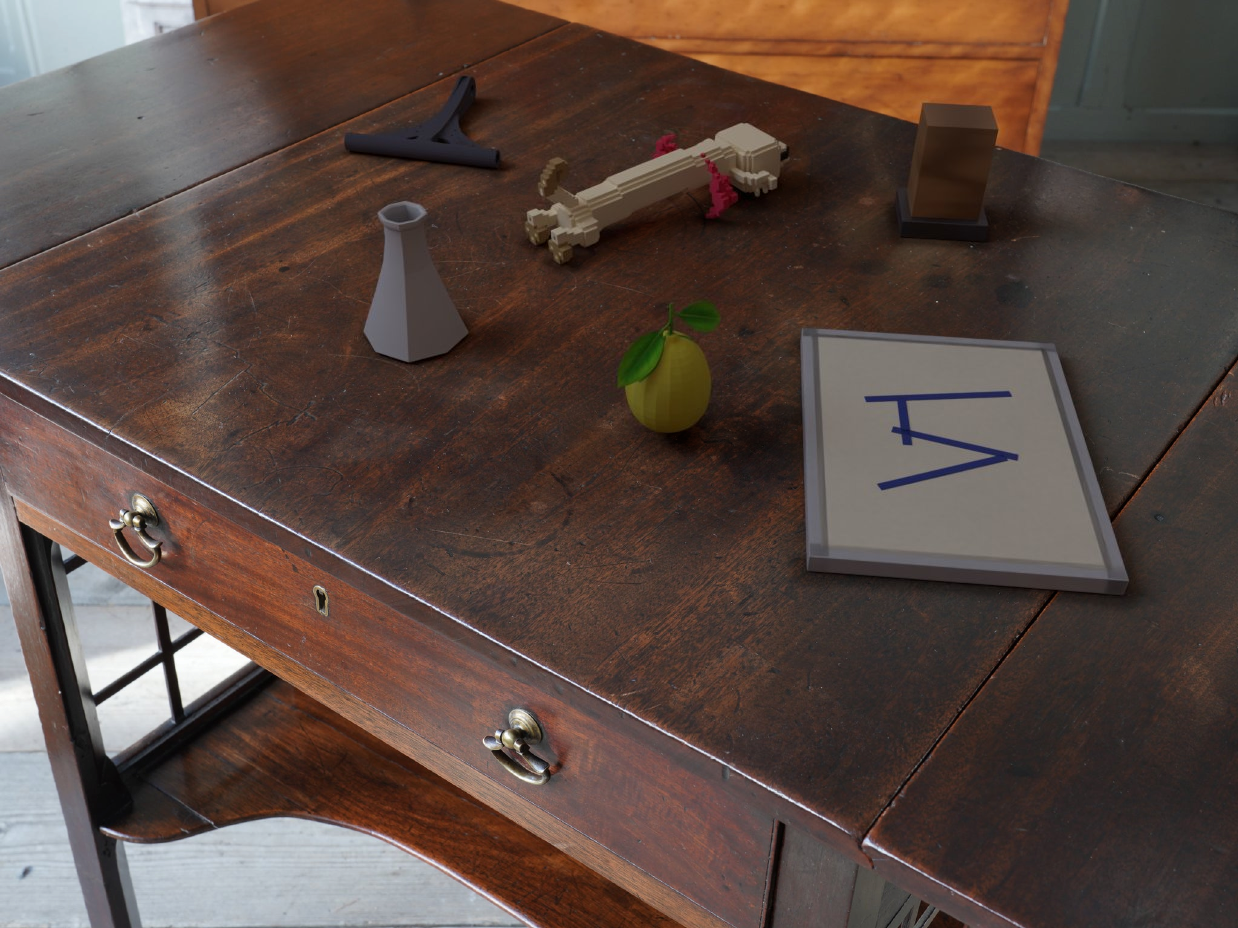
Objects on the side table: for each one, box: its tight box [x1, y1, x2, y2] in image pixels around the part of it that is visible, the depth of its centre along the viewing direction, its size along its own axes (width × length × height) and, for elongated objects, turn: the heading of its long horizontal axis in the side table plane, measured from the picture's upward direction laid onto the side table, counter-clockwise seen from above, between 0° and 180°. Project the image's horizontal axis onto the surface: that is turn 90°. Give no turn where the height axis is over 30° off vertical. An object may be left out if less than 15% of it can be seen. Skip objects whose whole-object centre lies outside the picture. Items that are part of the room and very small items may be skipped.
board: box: [799, 327, 1130, 596], centre depth 79 cm, size 18×24×1 cm
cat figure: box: [524, 122, 790, 265], centre depth 101 cm, size 10×9×25 cm
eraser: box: [893, 102, 1000, 243], centre depth 100 cm, size 7×6×10 cm
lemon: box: [617, 300, 722, 434], centre depth 78 cm, size 7×6×10 cm
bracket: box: [343, 75, 501, 169], centre depth 116 cm, size 14×15×3 cm
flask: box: [363, 200, 469, 363], centre depth 86 cm, size 7×7×10 cm
